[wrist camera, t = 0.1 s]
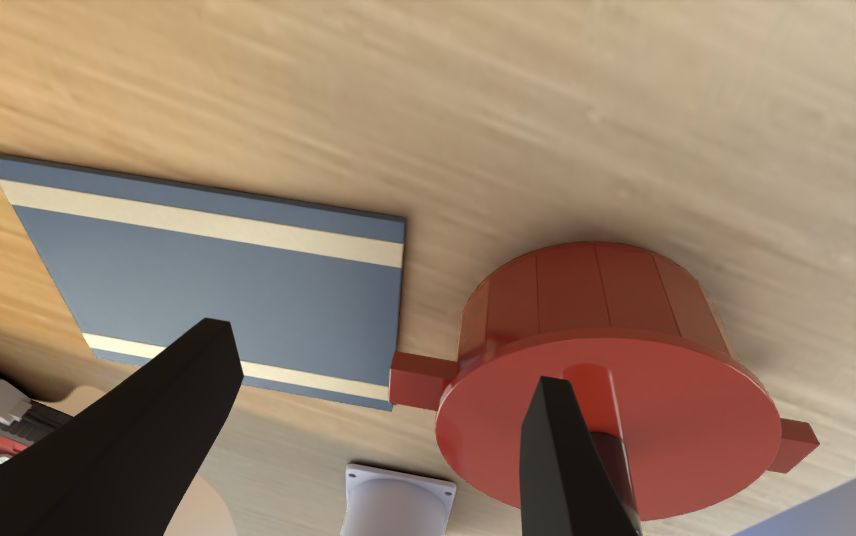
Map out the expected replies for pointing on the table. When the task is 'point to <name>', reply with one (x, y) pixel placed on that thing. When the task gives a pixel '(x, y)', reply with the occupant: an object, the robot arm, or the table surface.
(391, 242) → the towel
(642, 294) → the pot
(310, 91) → the table surface
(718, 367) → the lid
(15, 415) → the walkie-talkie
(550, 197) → the table surface
